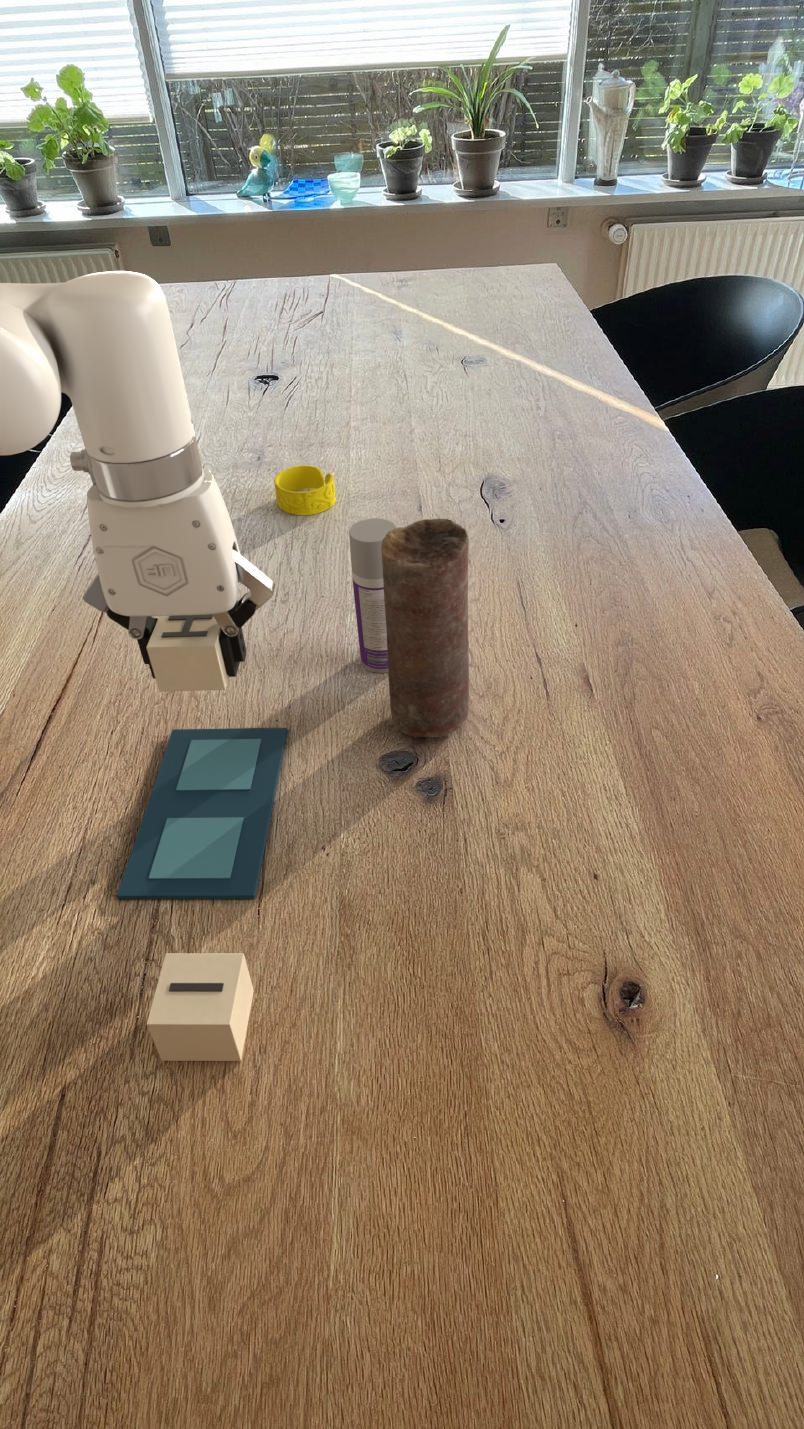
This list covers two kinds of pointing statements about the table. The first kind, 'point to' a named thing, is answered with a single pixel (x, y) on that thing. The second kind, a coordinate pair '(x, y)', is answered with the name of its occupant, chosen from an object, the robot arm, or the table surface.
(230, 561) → the robot arm
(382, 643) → the container
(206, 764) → the word mat
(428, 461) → the table surface
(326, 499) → the bracelet
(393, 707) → the candle
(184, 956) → the tile
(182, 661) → the tile
